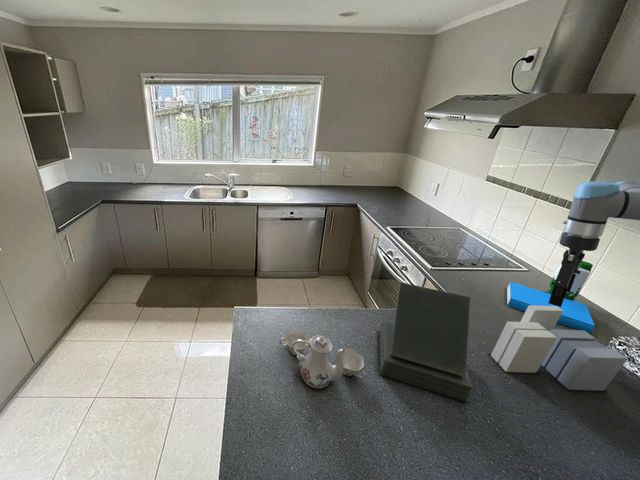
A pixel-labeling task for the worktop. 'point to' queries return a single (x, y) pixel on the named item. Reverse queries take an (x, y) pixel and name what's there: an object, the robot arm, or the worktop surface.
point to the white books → (523, 347)
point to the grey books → (582, 361)
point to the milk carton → (578, 280)
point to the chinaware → (322, 359)
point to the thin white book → (543, 315)
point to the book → (572, 311)
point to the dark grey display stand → (428, 341)
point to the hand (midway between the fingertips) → (559, 297)
